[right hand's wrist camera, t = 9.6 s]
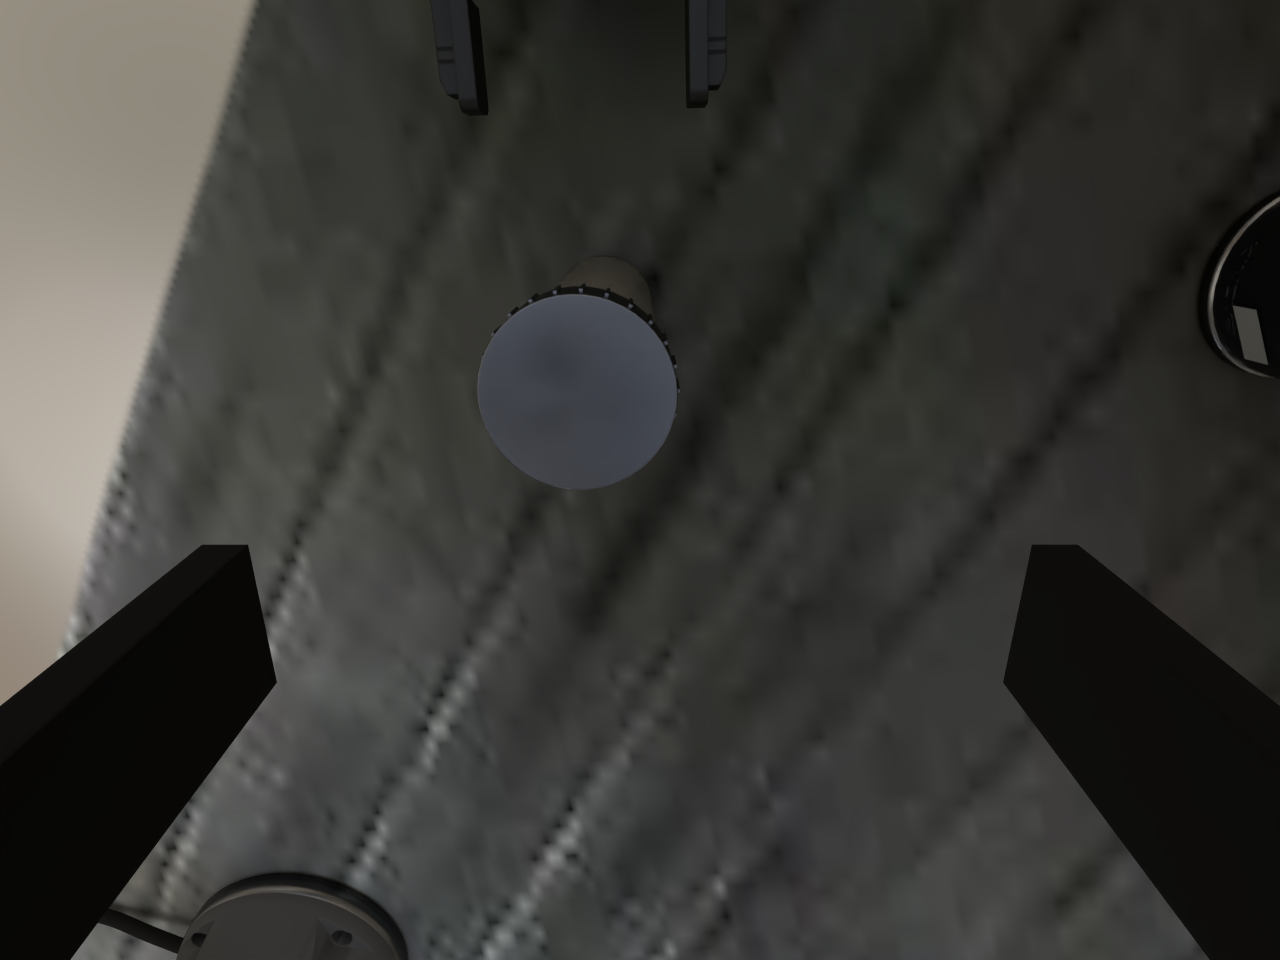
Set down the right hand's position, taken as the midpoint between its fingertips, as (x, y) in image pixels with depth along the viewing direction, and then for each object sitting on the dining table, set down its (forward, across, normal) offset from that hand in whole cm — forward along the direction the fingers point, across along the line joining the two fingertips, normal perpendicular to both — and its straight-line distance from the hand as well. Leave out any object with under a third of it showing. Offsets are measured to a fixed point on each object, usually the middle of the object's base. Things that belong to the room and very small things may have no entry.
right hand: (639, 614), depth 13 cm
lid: (+9, -2, +2) cm, 9 cm away
